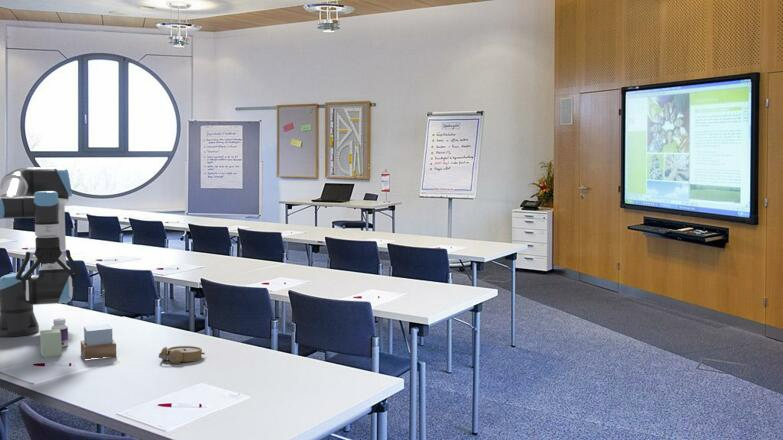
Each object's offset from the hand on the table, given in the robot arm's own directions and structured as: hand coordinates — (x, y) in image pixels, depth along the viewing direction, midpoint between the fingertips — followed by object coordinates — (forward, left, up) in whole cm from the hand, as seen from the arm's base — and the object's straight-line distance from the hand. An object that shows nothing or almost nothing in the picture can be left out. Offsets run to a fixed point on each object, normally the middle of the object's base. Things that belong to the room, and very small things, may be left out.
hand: (49, 298), depth 259 cm
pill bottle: (-11, +4, -20) cm, 23 cm away
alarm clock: (+29, +37, -20) cm, 51 cm away
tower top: (+10, +14, -15) cm, 23 cm away
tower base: (+10, +14, -20) cm, 26 cm away
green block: (0, 0, -20) cm, 20 cm away
